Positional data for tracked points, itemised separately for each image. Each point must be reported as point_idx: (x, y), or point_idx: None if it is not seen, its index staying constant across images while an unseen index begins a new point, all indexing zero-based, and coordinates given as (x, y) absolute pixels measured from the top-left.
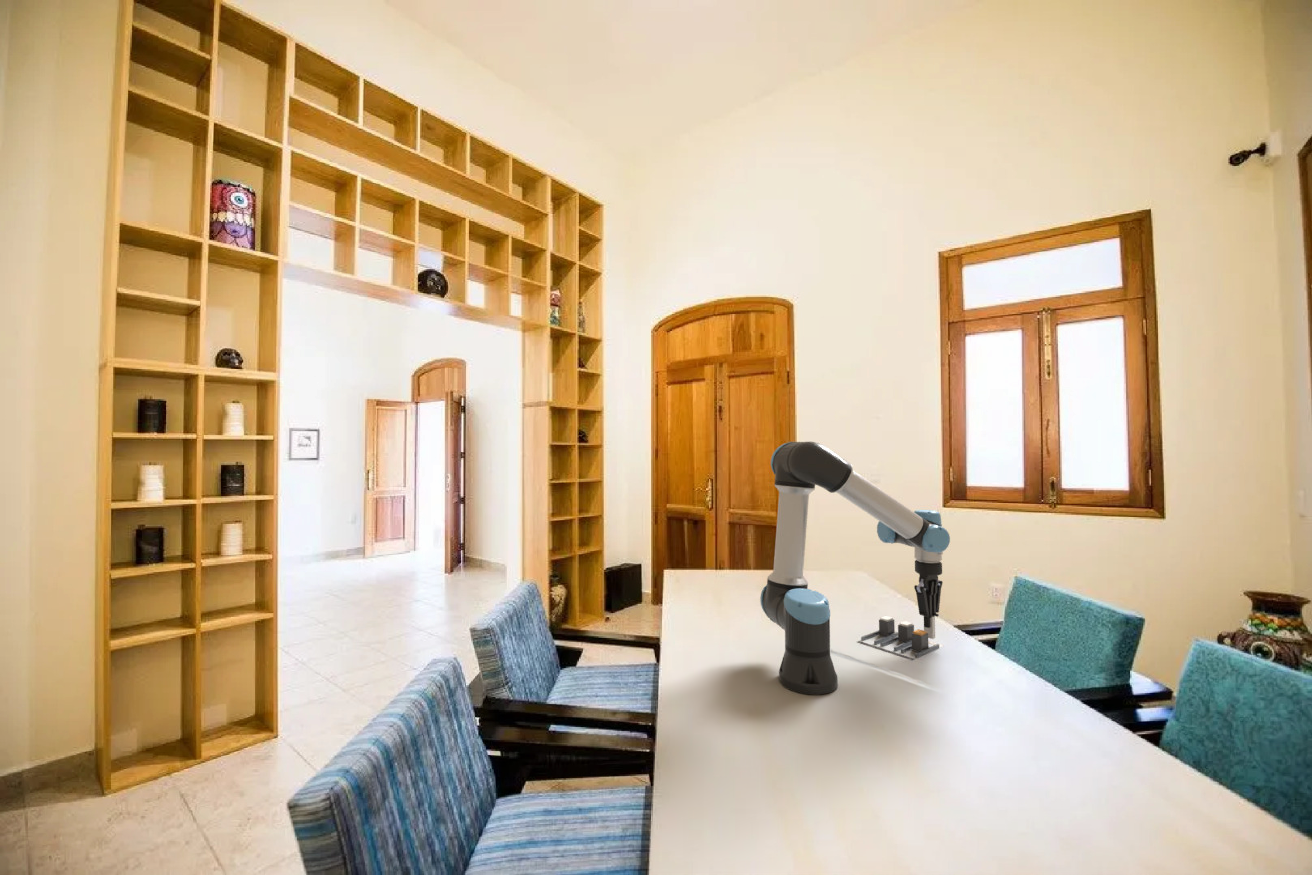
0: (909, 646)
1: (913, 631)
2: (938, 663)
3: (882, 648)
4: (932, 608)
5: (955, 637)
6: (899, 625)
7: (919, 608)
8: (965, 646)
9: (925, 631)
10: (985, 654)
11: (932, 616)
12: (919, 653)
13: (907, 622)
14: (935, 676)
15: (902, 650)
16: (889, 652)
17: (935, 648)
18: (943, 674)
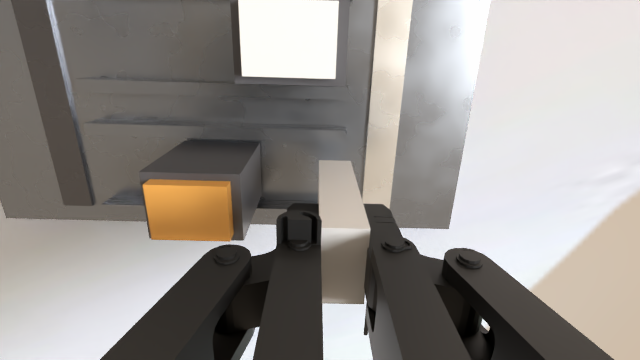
0: (171, 134)
1: (145, 185)
2: (205, 252)
3: (47, 11)
4: (374, 349)
5: (626, 163)
6: (230, 5)
7: (164, 308)
8: (510, 242)
9: (224, 237)
10: None
11: (353, 289)
12: (128, 214)
13: (316, 40)
14: (72, 296)
15: (88, 134)
16: (38, 76)
17: None
18: (118, 305)
